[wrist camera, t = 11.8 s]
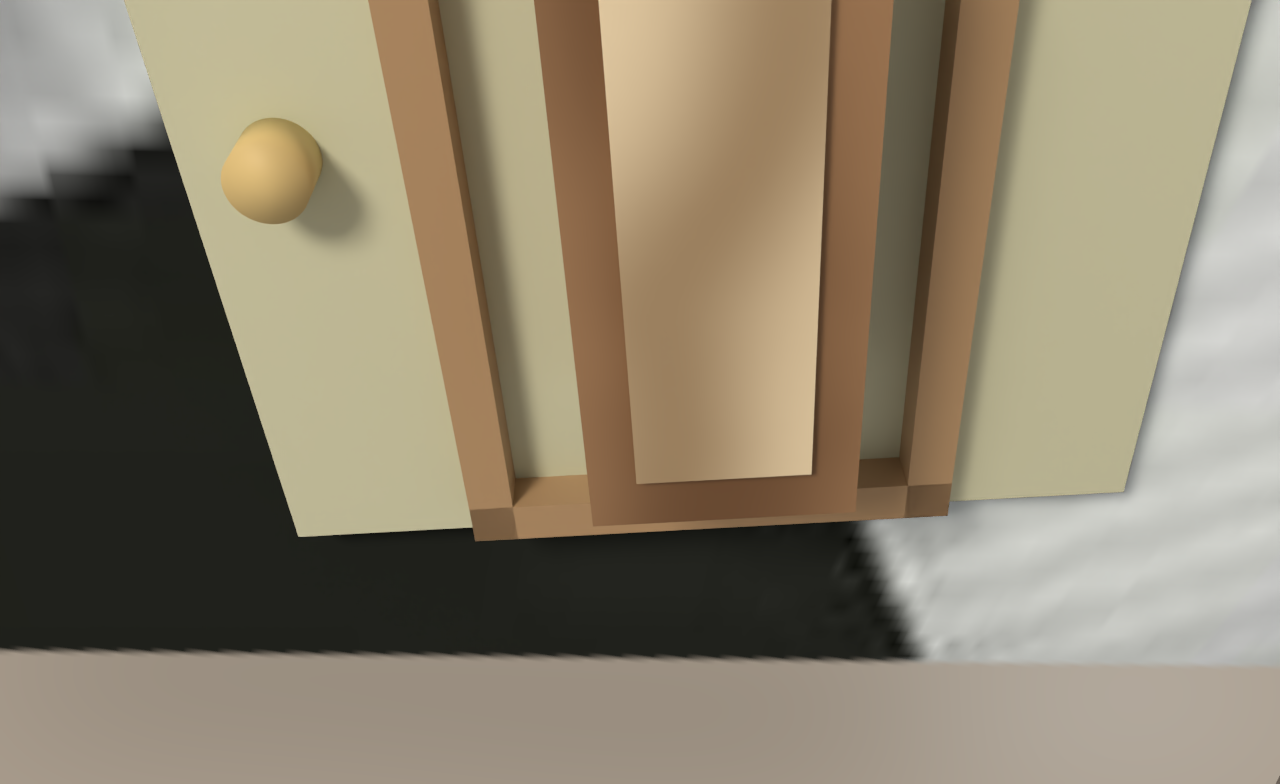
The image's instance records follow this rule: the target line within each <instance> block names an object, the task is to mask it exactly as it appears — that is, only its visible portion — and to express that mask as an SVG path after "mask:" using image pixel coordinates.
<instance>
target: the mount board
mask: <svg viewBox="0 0 1280 784" xmlns="http://www.w3.org/2000/svg"><path fill="white" fill-rule="evenodd" d="M1251 1H1252V0H894V3H893V16H892V29H891V43H890V56H889V70H888V83H887V96H886V110H885V123H884V137H883V150H882V164H881V177H880V190H879V204H878V217H877V231H876V244H875V257H874V271H873V284H872V298H871V311H870V324H869V338H868V351H867V365H866V378H865V392H864V405H863V418H862V432H861V445H860V459H859V472H858V485H857V499H856V512H852V513H834V514H815V515H797V516H779V517H760V518H742V519H723V520H705V521H687V522H668V523H650V524H632V525H613V526H595V527H593V522H592V513H591V504H590V495H589V486H588V477H587V469H586V460H585V451H584V442H583V433H582V424H581V415H580V406H579V397H578V389H577V380H576V371H575V362H574V353H573V344H572V335H571V326H570V317H569V309H568V300H567V291H566V282H565V273H564V264H563V255H562V246H561V237H560V229H559V220H558V211H557V202H556V193H555V184H554V175H553V166H552V157H551V149H550V140H549V131H548V122H547V113H546V104H545V95H544V86H543V77H542V69H541V60H540V51H539V42H538V33H537V24H536V15H535V6H534V0H124V2H125V5H126V8H127V11H128V14H129V17H130V20H131V23H132V26H133V29H134V32H135V36H136V39H137V42H138V45H139V48H140V51H141V54H142V57H143V60H144V63H145V66H146V69H147V72H148V75H149V79H150V82H151V85H152V88H153V91H154V94H155V97H156V100H157V103H158V106H159V109H160V112H161V115H162V118H163V122H164V125H165V128H166V131H167V134H168V137H169V140H170V143H171V146H172V149H173V152H174V155H175V158H176V162H177V165H178V168H179V171H180V174H181V177H182V180H183V183H184V186H185V189H186V192H187V195H188V198H189V201H190V205H191V208H192V211H193V214H194V217H195V220H196V223H197V226H198V229H199V232H200V235H201V238H202V241H203V244H204V248H205V251H206V254H207V257H208V260H209V263H210V266H211V269H212V272H213V275H214V278H215V281H216V284H217V288H218V291H219V294H220V297H221V300H222V303H223V306H224V309H225V312H226V315H227V318H228V321H229V324H230V327H231V331H232V334H233V337H234V340H235V343H236V346H237V349H238V352H239V355H240V358H241V361H242V364H243V367H244V370H245V374H246V377H247V380H248V383H249V386H250V389H251V392H252V395H253V398H254V401H255V404H256V407H257V410H258V413H259V417H260V420H261V423H262V426H263V429H264V432H265V435H266V438H267V441H268V444H269V447H270V450H271V453H272V457H273V460H274V463H275V466H276V469H277V472H278V475H279V478H280V481H281V484H282V487H283V490H284V493H285V496H286V500H287V503H288V506H289V509H290V512H291V515H292V518H293V521H294V524H295V527H296V530H297V533H298V536H299V537H305V536H323V535H341V534H360V533H378V532H397V531H415V530H433V529H452V528H470V527H473V531H474V536H475V541H488V540H507V539H525V538H543V537H562V536H580V535H599V534H617V533H636V532H654V531H672V530H691V529H709V528H728V527H746V526H765V525H783V524H801V523H820V522H838V521H857V520H875V519H894V518H912V517H931V516H947V515H948V508H949V501H965V500H984V499H1002V498H1021V497H1039V496H1057V495H1076V494H1094V493H1112V492H1124V488H1125V484H1126V480H1127V477H1128V473H1129V469H1130V465H1131V461H1132V457H1133V454H1134V450H1135V446H1136V442H1137V438H1138V434H1139V431H1140V427H1141V423H1142V419H1143V415H1144V411H1145V408H1146V404H1147V400H1148V396H1149V392H1150V388H1151V384H1152V381H1153V377H1154V373H1155V369H1156V365H1157V361H1158V358H1159V354H1160V350H1161V346H1162V342H1163V338H1164V335H1165V331H1166V327H1167V323H1168V319H1169V315H1170V312H1171V308H1172V304H1173V300H1174V296H1175V292H1176V289H1177V285H1178V281H1179V277H1180V273H1181V269H1182V266H1183V262H1184V258H1185V254H1186V250H1187V246H1188V243H1189V239H1190V235H1191V231H1192V227H1193V223H1194V219H1195V216H1196V212H1197V208H1198V204H1199V200H1200V196H1201V193H1202V189H1203V185H1204V181H1205V177H1206V173H1207V170H1208V166H1209V162H1210V158H1211V154H1212V150H1213V147H1214V143H1215V139H1216V135H1217V131H1218V127H1219V124H1220V120H1221V116H1222V112H1223V108H1224V104H1225V101H1226V97H1227V93H1228V89H1229V85H1230V81H1231V78H1232V74H1233V70H1234V66H1235V62H1236V58H1237V54H1238V51H1239V47H1240V43H1241V39H1242V35H1243V31H1244V28H1245V24H1246V20H1247V16H1248V12H1249V8H1250V5H1251Z"/></svg>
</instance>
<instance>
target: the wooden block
mask: <svg viewBox="0 0 1280 784" xmlns="http://www.w3.org/2000/svg"><path fill="white" fill-rule="evenodd" d="M893 3H894V0H534V6H535V15H536V24H537V33H538V42H539V51H540V60H541V69H542V77H543V86H544V95H545V104H546V113H547V122H548V131H549V140H550V149H551V157H552V166H553V175H554V184H555V193H556V202H557V211H558V220H559V229H560V237H561V246H562V255H563V264H564V273H565V282H566V291H567V300H568V309H569V317H570V326H571V335H572V344H573V353H574V362H575V371H576V380H577V389H578V397H579V406H580V415H581V424H582V433H583V442H584V451H585V460H586V469H587V477H588V486H589V495H590V504H591V513H592V522H593V527H595V526H613V525H632V524H650V523H668V522H687V521H705V520H723V519H742V518H760V517H779V516H797V515H815V514H834V513H852V512H856V499H857V485H858V472H859V459H860V445H861V432H862V418H863V405H864V392H865V378H866V365H867V351H868V338H869V324H870V311H871V298H872V284H873V271H874V257H875V244H876V231H877V217H878V204H879V190H880V177H881V164H882V150H883V137H884V123H885V110H886V96H887V83H888V70H889V56H890V43H891V29H892V16H893Z"/></svg>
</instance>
